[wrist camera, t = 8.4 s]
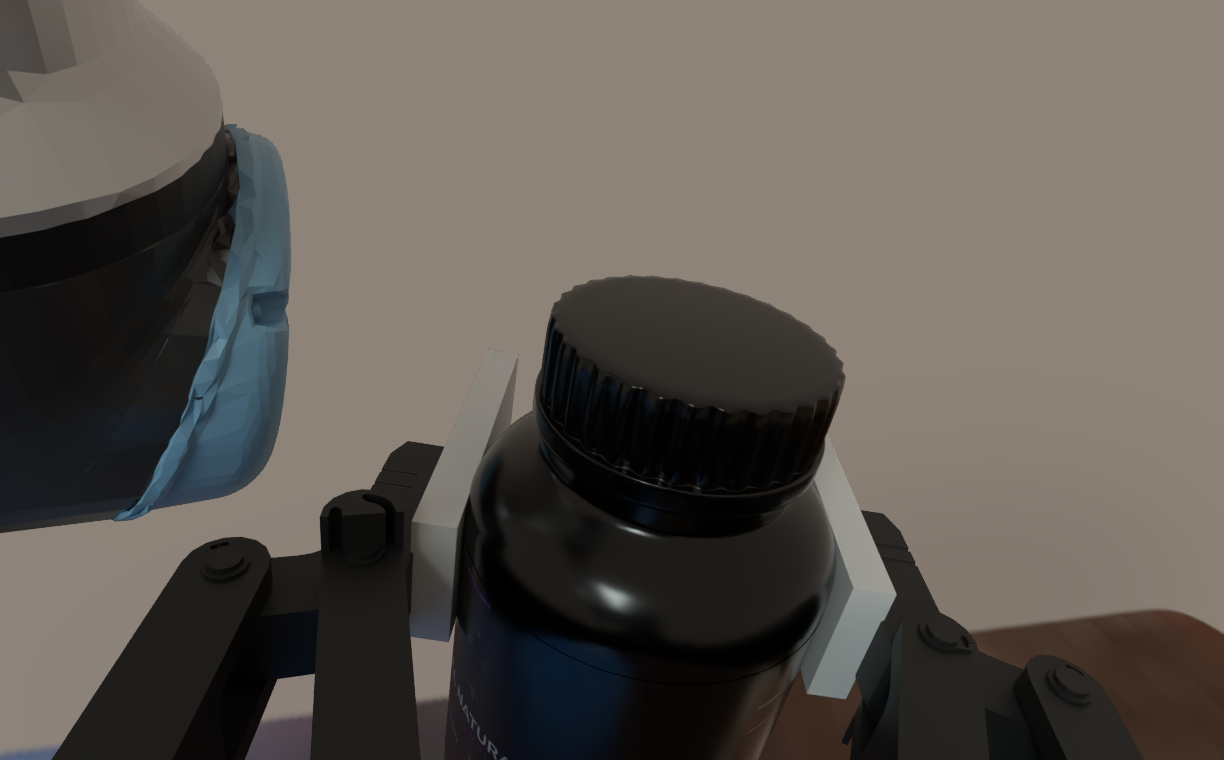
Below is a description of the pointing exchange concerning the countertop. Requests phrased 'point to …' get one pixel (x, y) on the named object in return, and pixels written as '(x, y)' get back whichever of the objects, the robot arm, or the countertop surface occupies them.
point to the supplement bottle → (647, 533)
